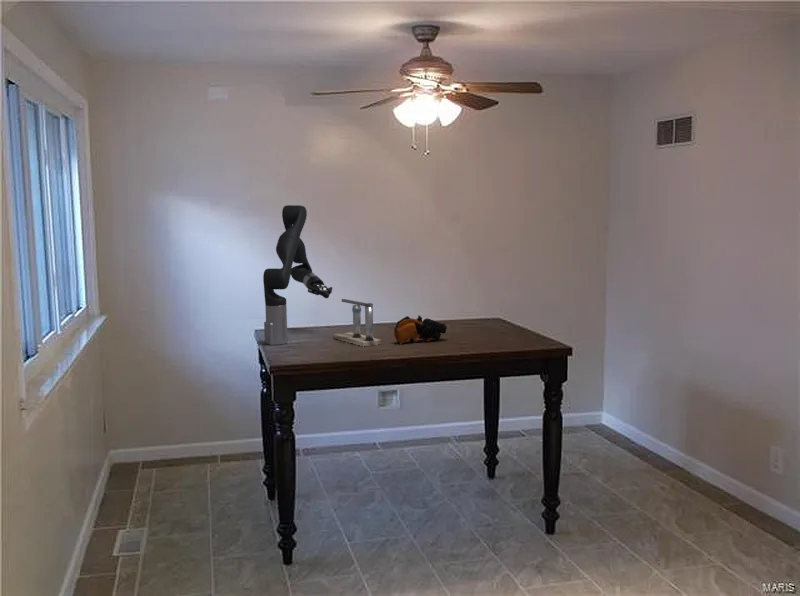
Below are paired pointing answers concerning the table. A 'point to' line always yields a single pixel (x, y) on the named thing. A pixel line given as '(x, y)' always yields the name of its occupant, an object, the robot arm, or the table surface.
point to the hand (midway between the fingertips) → (327, 296)
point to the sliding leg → (356, 320)
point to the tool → (418, 329)
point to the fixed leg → (367, 317)
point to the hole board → (357, 339)
